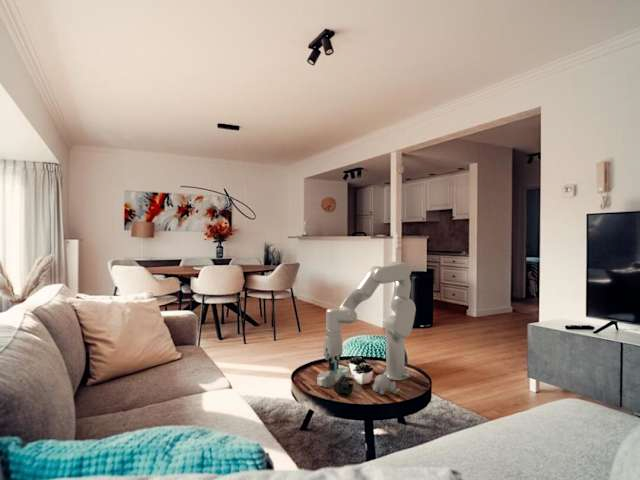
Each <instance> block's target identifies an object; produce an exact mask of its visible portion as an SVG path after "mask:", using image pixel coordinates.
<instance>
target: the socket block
mask: <svg viewBox="0 0 640 480" xmlns="http://www.w3.org/2000/svg"><path fill="white" fill-rule="evenodd" d="M350 370H351V369H350V367H348V366H344V365H340V364H339V369H337V373H338V379H339V378H340V377H341V376H342V375H345V377H350V376H351V371H350ZM338 379H337V380H338ZM337 380H336V381H337Z"/></svg>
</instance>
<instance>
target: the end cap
mask: <svg viewBox="0 0 640 480" xmlns="http://www.w3.org/2000/svg"><path fill="white" fill-rule="evenodd" d="M351 382H354V377H345V375H342V376H341V377H340V378H339V379H338V380H335V384H333V385H332V386H333V389H332V390H333V391H334V393H335V394H336V395H338V396H339V397H343V398H344V397H345V398H349V397H350V396H351V394H352V392H353V391H354V383H351Z"/></svg>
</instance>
